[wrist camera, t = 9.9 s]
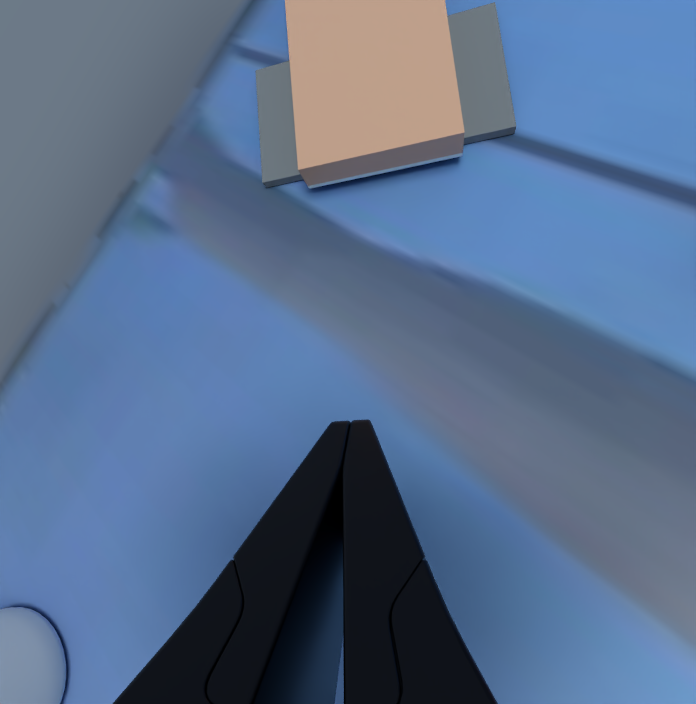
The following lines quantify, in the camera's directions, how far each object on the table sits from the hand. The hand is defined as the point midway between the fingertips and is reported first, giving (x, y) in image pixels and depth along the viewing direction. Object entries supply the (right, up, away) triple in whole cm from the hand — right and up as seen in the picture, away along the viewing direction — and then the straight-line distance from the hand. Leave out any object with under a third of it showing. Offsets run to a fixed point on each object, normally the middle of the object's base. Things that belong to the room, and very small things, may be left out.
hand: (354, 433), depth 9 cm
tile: (+2, +12, +14) cm, 18 cm away
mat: (+2, +17, +16) cm, 23 cm away
